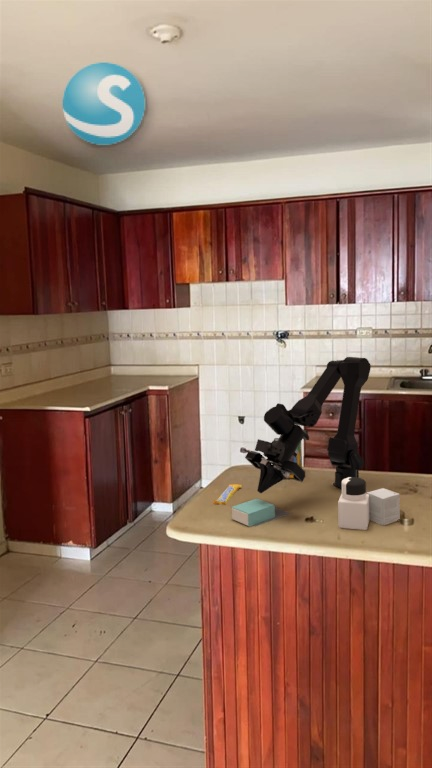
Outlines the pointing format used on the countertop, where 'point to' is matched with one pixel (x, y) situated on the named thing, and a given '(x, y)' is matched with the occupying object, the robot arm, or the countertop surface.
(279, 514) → the mat
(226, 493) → the candy bar
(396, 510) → the product box
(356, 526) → the medicine bottle
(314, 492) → the countertop surface
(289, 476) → the chalk box
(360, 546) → the countertop surface
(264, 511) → the teal box cream top
